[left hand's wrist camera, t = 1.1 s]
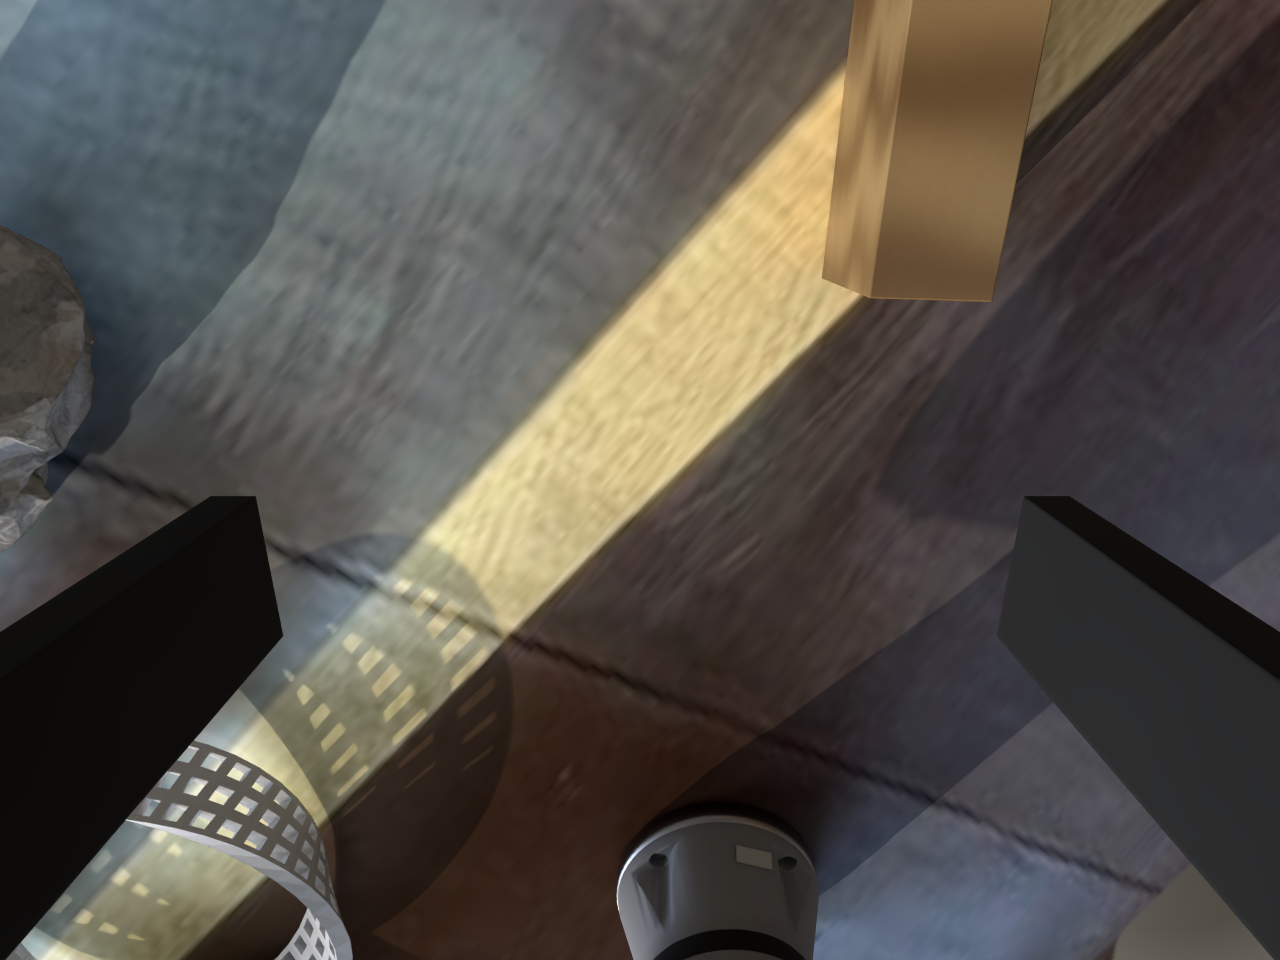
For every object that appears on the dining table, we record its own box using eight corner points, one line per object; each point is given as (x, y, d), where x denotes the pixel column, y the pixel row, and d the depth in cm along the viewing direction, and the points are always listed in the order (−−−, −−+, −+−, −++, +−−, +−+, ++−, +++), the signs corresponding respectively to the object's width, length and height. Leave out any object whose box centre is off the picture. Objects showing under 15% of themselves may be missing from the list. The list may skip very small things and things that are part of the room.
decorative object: (340, 1034, 63) (310, 1118, 57) (-27, 968, 60) (-98, 1049, 54) (395, 768, 52) (364, 837, 46) (-48, 671, 49) (-139, 733, 43)
